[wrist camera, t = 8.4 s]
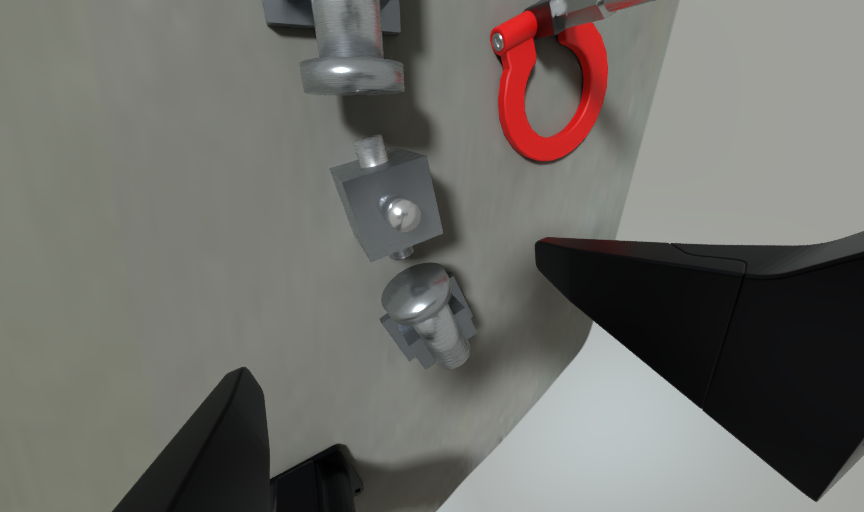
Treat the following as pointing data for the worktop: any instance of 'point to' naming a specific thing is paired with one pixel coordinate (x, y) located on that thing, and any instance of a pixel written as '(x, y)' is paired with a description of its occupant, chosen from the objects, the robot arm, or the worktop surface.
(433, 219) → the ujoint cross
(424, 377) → the worktop surface
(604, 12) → the tow hook
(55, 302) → the worktop surface
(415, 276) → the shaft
